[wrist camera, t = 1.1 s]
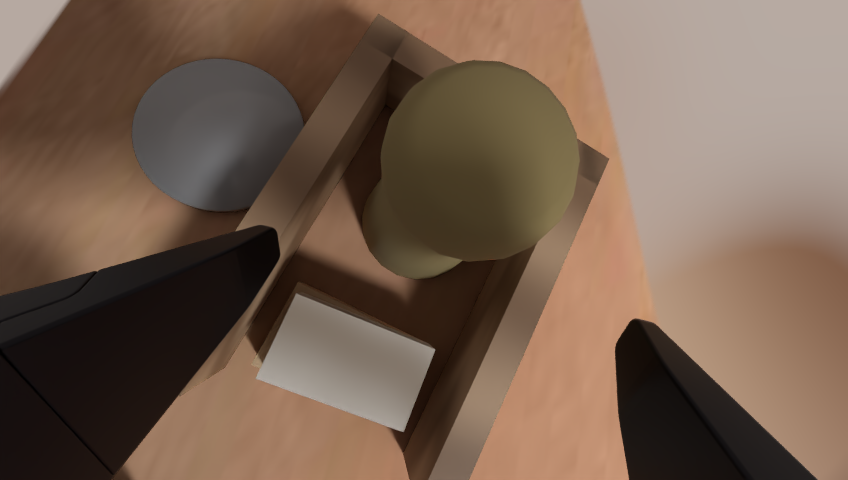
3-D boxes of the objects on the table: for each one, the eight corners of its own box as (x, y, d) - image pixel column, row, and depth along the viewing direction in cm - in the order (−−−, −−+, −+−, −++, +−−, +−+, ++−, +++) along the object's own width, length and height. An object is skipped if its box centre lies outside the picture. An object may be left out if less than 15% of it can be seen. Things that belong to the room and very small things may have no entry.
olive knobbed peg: (488, 195, 19) (651, 88, 8) (449, 297, 18) (580, 320, 7) (389, 149, 18) (430, -34, 8) (342, 252, 17) (314, 205, 7)
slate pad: (290, 224, 17) (288, 222, 17) (119, 196, 16) (112, 193, 15) (318, 84, 18) (317, 79, 18) (160, 48, 17) (154, 41, 16)
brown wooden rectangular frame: (429, 466, 17) (450, 521, 13) (194, 352, 16) (138, 376, 12) (560, 182, 20) (609, 158, 16) (374, 68, 19) (378, 13, 15)
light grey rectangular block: (391, 416, 17) (397, 444, 14) (260, 356, 16) (239, 373, 13) (427, 340, 18) (440, 351, 15) (304, 279, 17) (293, 279, 14)
